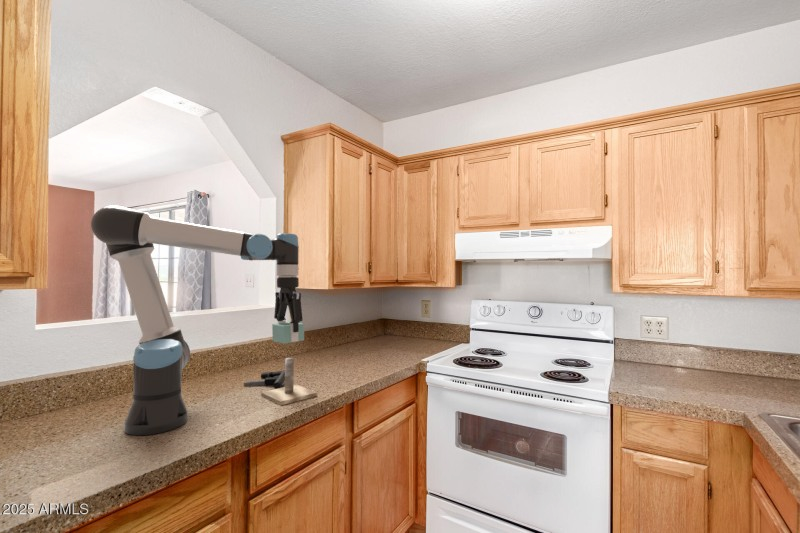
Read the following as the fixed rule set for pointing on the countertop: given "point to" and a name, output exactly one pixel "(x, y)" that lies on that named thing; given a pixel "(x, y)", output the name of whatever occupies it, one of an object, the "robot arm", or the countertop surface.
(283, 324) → the collar
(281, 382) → the black toy gun
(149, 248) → the robot arm
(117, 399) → the countertop surface
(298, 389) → the peg stand
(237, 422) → the countertop surface
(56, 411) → the countertop surface
